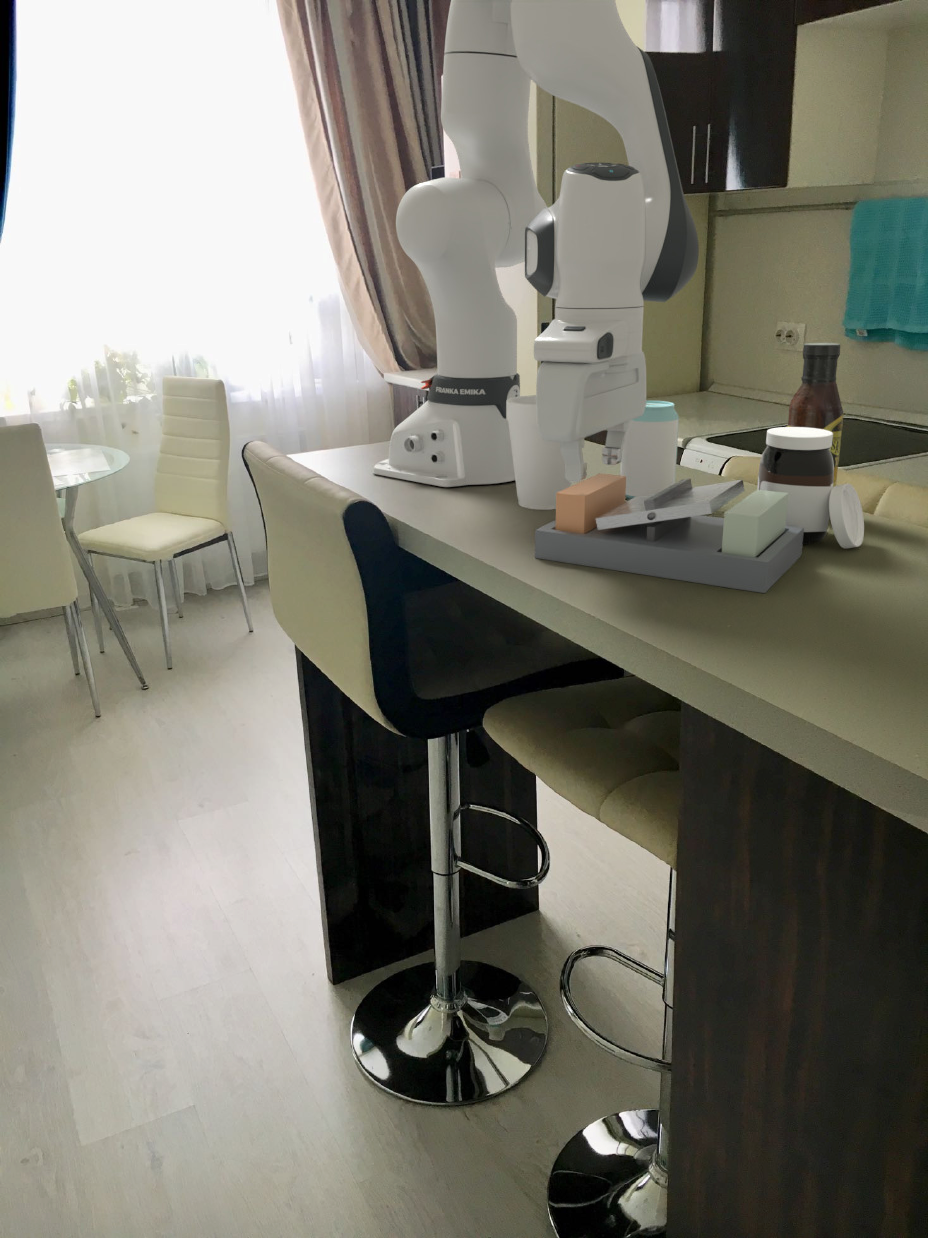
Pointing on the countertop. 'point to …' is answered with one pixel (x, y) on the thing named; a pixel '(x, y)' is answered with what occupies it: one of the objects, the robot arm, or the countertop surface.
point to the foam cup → (534, 457)
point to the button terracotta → (588, 502)
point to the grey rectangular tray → (673, 552)
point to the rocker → (671, 504)
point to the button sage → (754, 523)
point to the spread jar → (810, 485)
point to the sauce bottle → (819, 395)
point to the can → (651, 450)
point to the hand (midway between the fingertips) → (594, 471)
